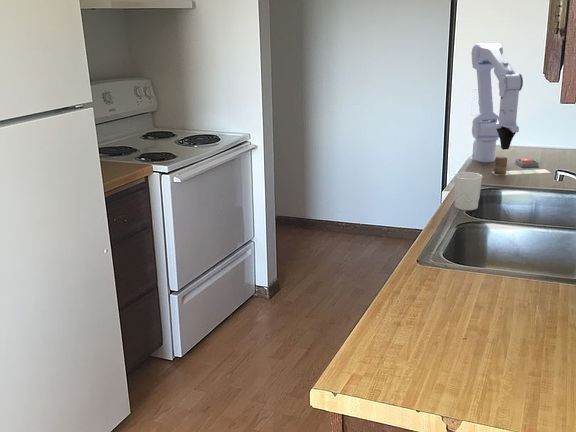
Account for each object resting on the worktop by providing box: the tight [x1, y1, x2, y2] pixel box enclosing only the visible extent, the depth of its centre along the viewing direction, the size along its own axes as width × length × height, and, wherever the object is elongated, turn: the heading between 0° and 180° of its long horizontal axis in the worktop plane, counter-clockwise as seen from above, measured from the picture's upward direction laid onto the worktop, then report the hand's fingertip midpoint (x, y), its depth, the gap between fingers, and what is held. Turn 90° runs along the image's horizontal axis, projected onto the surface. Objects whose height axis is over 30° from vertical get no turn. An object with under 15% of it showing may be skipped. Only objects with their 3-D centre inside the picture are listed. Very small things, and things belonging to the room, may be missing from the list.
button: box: [520, 157, 535, 163], centre depth 227 cm, size 4×4×2 cm
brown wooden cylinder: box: [493, 156, 508, 176], centre depth 217 cm, size 4×4×6 cm
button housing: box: [515, 158, 539, 168], centre depth 227 cm, size 6×6×2 cm
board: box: [491, 168, 552, 176], centre depth 219 cm, size 10×20×1 cm, turn 93°
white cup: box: [454, 171, 483, 211], centre depth 186 cm, size 8×8×10 cm
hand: (505, 148), depth 216 cm, fingers closed
